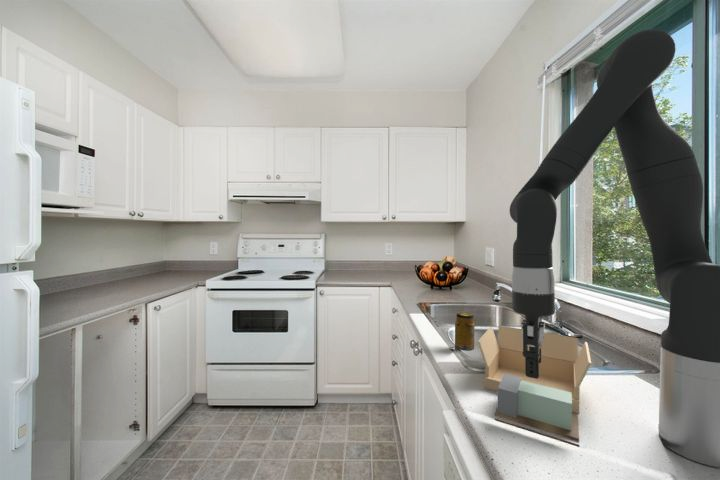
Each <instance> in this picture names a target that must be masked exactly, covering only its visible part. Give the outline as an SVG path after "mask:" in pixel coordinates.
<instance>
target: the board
mask: <svg viewBox="0 0 720 480" xmlns="http://www.w3.org/2000/svg"><path fill="white" fill-rule="evenodd" d="M578 415H579V414H578V413H575V412H572V429H571V430H568V429H564V428H561V427H558V426H554V425H551V424H548V423H544V422H541V421H537V420H534V419H531V418H527V417H524V416H521V415H517V418H514V417H511V416H508V415H504V414H501V413H498V412H497V408H495V411H494V416H495V417H497V418H494V421H496V422H500V423H502V424H506V425H508V426H512V427H515V428H518V429H521V430H524V431H528V432H530V433H533V434H537V435H540V436H543V437H547V438H549V439H553V440H556V441H558V442H562V443H565V444H567V445H571V446H575V447H578V448H579V447H580V445H579V444H577V443H574V442H575V441H576V442H580V432H579V416H578ZM498 417H499V418H502V419H505V420H506V421H505V420H502V419H498ZM507 420H508V421H507ZM509 421H511V422H514V423H511V422H509ZM515 423H517V424H515ZM518 424H520V425H518ZM521 424H522V425H523V426H521ZM524 426H527V427H524ZM528 427H529V428H534V429H537V430H540V431H544V432H546V433H549V434H552V435H556V436H560V437H562V438H565V439H569V440H572V441H574V442H571V441H569V440H565V439H562V438H559V437H555V436H552V435H548V434H546V433H542V432H539V431H536V430H533V429H529V428H528Z"/></svg>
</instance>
